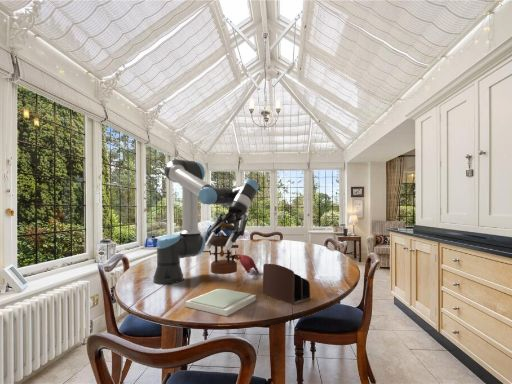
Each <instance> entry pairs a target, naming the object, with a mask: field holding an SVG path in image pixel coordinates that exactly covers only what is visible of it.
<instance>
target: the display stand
mask: <svg viewBox="0 0 512 384" xmlns="http://www.w3.org/2000/svg"><path fill="white" fill-rule="evenodd" d="M256 299H257V295H256V294H251V293H249V292H244V291H243V292H241V291H236V290H232V289H227V288H226V289H225V288H216V289H214V290H211V291H209V292H206V293H203V294H201V295H198V296H196V297H193V298H190V299H188V300H186V301H185V302H184V303H185V308H191V309H193V310H199V311H203V312H206V313H210V314H211V313H212V314H216V315H219V316H224V317H228V316H230V315H232V314H234V313H235V312H237V311H238V310H239V311H240V310H241V309H242V308H244V307H246V306H249V305H250V304H252V303H254V302H255V301H257V300H256Z"/></svg>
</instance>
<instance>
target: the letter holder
mask: <svg viewBox="0 0 512 384" xmlns="http://www.w3.org/2000/svg"><path fill="white" fill-rule="evenodd" d="M262 267H263V268H262V269H263V270H262V294H264V295H266V296H270V297H272V298H274V299H277V300H280V301H282V302H285V303H288V304H290V305H293V306H295V305H297V304H298V305H299V304H302V303H304V302H308V301H310V300H311V283H310V281H309V280H307V279H306V278H303V277H301V276H300V275H298V274H297V273H295V271H294V270H292V269H290V268H288V267H287V266H283V265H280V264H275V263H264V264H263V266H262Z"/></svg>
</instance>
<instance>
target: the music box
mask: <svg viewBox="0 0 512 384" xmlns="http://www.w3.org/2000/svg"><path fill="white" fill-rule="evenodd" d="M223 229H224V230H225V231H229V232H230V234H229V235H225V234H224V232H222V230H223ZM234 229H239V228H235V226H234V224H226V223H225V222H222V223H221V232H219V233H220V234H219V235H216V236H213V237H212V238H211V244H212V246H213V247H214V252H211V250H210V249H209V250H203V252H202V253H209V256H211V255H213V256H214V260H213V261H212V262H211V263H210V273H212V274H215V275H230V274H234V273H236V272H238V262H237V261H235V260H237V259H238V257H239V256H238V253H237V250H235V251H234V252H235V253H234V254H233V253H232V251H231V249H238V248H239V247H240V246H239V244H233V245H232V247H231V249H230V250H227V249H226V252H224V247H225V245H226V243H227V241H228V239H229V238H230V236H231V234H232V233H233V231H234ZM236 242H237V240H236V241H235V243H236ZM218 247H220V251H219V252H218ZM218 255H219V256H220V257H224V256H225V258H226V259H219V260H218Z"/></svg>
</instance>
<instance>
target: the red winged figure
mask: <svg viewBox="0 0 512 384" xmlns="http://www.w3.org/2000/svg"><path fill="white" fill-rule="evenodd" d="M237 254H238V253H237ZM236 260H237V261H238V260H239V262H240V264H241V266H242V267H243V268H244V270H241V273H243V274H245V273H247V274H249V273H251V270H252V269H253V270H255V272H257V274H258V273H259V272H260V271H259V270H258V267H257V265H256V263H255V260H254V259H253V258H252V257H251V256H249V255H246V254H238V259H236Z"/></svg>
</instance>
